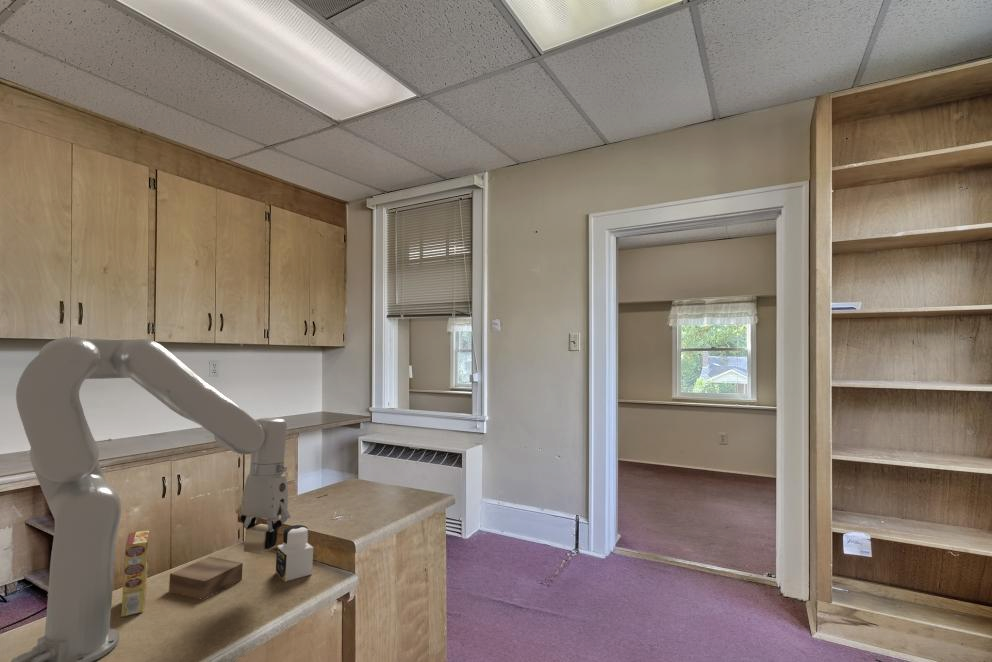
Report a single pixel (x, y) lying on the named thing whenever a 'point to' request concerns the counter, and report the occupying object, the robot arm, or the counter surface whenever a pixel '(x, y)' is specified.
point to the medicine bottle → (294, 554)
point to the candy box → (135, 573)
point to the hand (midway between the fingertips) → (260, 544)
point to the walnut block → (205, 577)
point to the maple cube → (256, 539)
